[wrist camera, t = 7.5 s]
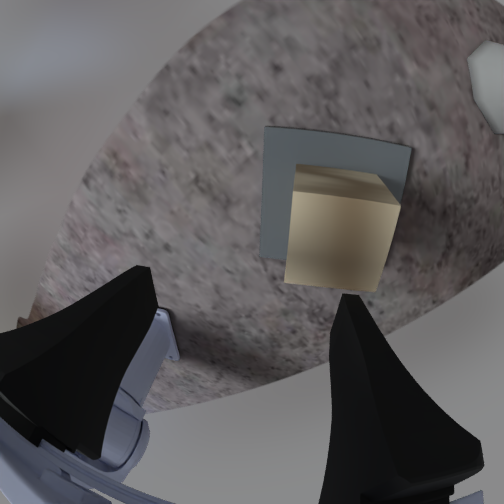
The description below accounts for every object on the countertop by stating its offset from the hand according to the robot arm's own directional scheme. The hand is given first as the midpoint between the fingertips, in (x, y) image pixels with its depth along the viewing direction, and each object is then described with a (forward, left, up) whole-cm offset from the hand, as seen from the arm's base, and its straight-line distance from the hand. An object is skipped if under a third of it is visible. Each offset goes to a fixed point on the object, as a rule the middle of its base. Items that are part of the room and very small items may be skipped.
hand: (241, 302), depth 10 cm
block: (+4, 0, -9) cm, 10 cm away
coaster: (+4, +1, -10) cm, 11 cm away
